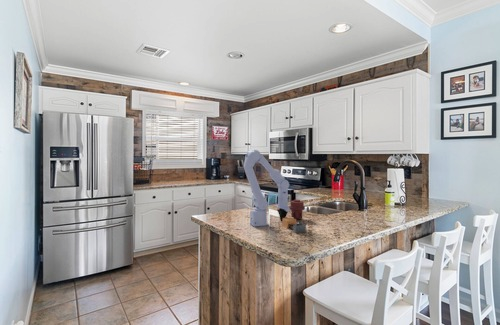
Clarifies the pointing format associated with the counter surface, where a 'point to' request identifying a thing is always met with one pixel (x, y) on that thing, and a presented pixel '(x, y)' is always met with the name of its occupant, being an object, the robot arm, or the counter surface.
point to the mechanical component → (296, 209)
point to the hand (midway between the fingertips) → (282, 221)
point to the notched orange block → (288, 222)
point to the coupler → (298, 227)
